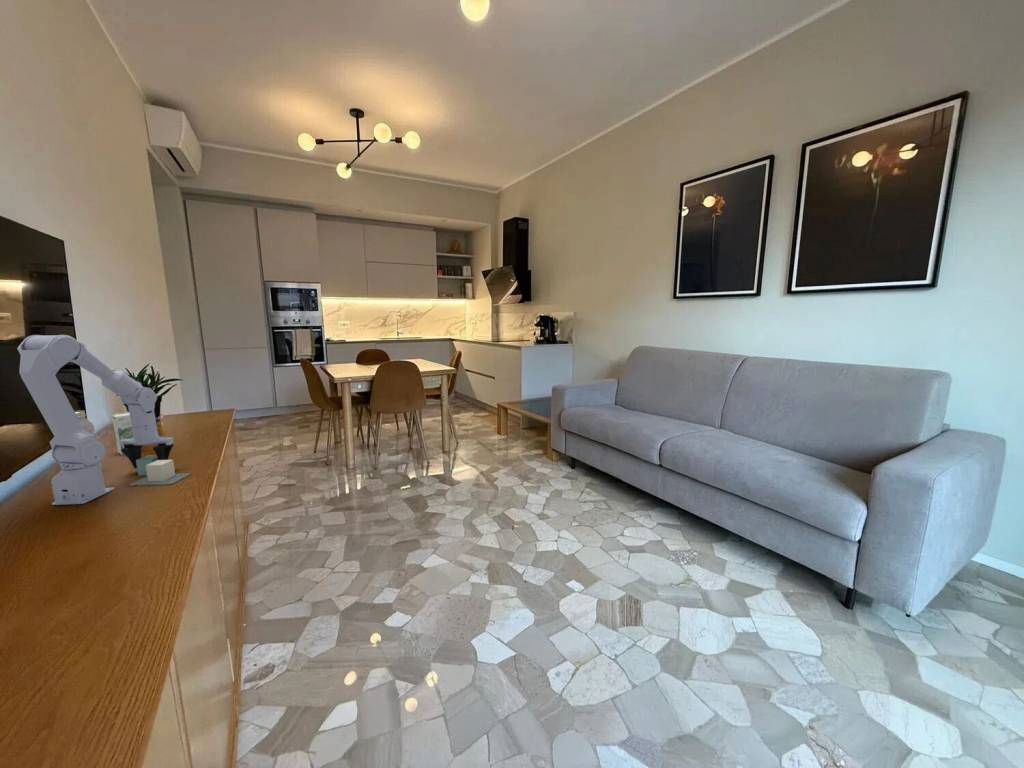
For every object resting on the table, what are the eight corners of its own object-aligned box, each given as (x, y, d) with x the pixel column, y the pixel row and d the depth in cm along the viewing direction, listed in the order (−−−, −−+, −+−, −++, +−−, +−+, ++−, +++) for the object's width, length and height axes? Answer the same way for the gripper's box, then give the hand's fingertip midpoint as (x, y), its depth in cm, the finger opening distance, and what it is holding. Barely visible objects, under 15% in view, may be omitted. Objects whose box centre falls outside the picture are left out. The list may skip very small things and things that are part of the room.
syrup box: (138, 448, 154) (131, 410, 152) (142, 451, 151) (136, 412, 148) (117, 452, 150) (110, 413, 147) (121, 455, 146) (114, 416, 144)
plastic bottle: (67, 476, 128) (54, 413, 125) (95, 468, 134) (83, 408, 131) (79, 478, 126) (66, 414, 122) (107, 470, 132) (95, 409, 129)
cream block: (164, 481, 122) (161, 464, 121) (148, 481, 122) (145, 465, 121) (175, 475, 127) (173, 459, 126) (160, 475, 126) (157, 460, 125)
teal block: (153, 475, 128) (151, 459, 127) (138, 475, 128) (135, 460, 127) (164, 469, 133) (162, 454, 132) (149, 470, 132) (147, 455, 131)
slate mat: (172, 484, 120) (172, 483, 120) (128, 486, 120) (128, 484, 119) (191, 474, 128) (191, 473, 128) (150, 475, 127) (150, 474, 127)
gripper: (178, 421, 132) (184, 461, 134) (130, 422, 131) (137, 463, 133) (161, 427, 125) (167, 469, 127) (110, 428, 124) (118, 471, 126)
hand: (151, 467), depth 130 cm, fingers open, 7 cm apart
